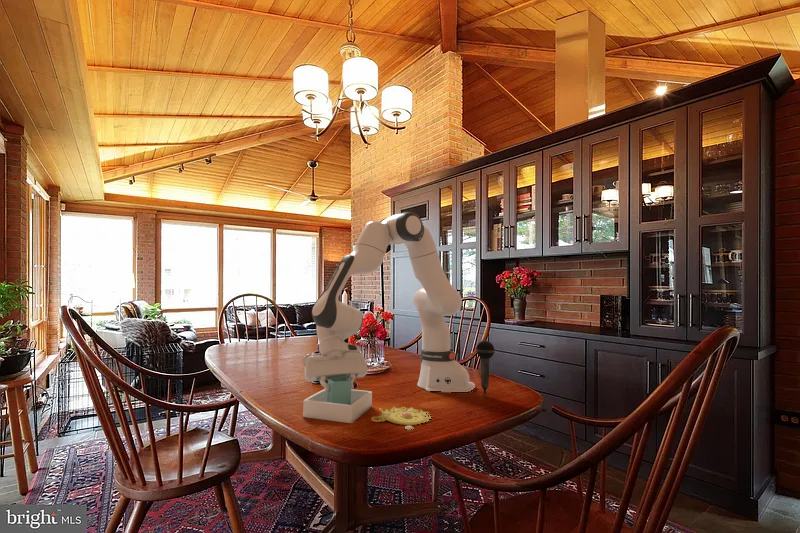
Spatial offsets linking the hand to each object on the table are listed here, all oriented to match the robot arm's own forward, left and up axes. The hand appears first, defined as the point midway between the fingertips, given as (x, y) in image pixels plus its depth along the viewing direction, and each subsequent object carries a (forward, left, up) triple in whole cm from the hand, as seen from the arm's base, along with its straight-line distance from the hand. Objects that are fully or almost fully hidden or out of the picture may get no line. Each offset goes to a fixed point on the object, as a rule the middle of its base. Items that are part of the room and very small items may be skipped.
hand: (339, 389), depth 127 cm
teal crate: (0, 0, -4) cm, 4 cm away
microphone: (-42, -33, -7) cm, 54 cm away
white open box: (0, 0, -7) cm, 7 cm away
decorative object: (-19, -2, -8) cm, 21 cm away
